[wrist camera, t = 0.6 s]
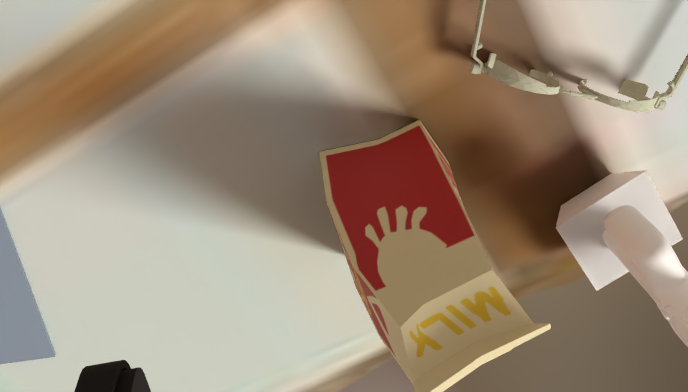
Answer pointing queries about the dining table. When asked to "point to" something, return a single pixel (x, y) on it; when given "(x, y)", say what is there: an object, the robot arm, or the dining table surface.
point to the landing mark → (18, 309)
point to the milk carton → (419, 259)
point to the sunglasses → (528, 84)
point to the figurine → (628, 240)
